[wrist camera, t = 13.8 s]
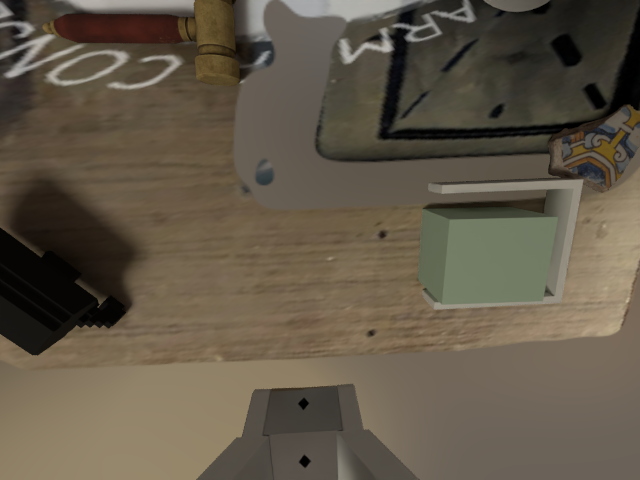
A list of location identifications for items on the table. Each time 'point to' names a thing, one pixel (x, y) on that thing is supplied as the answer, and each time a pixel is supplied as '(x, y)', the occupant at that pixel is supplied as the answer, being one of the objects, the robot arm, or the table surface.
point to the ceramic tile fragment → (596, 149)
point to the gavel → (166, 35)
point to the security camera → (45, 298)
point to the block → (485, 254)
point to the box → (558, 203)
